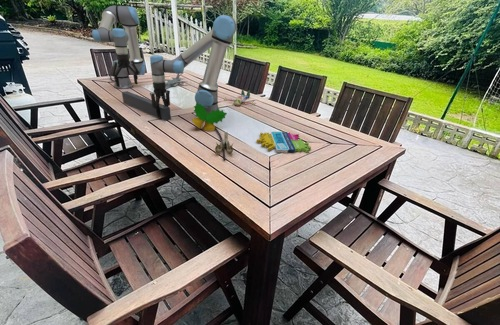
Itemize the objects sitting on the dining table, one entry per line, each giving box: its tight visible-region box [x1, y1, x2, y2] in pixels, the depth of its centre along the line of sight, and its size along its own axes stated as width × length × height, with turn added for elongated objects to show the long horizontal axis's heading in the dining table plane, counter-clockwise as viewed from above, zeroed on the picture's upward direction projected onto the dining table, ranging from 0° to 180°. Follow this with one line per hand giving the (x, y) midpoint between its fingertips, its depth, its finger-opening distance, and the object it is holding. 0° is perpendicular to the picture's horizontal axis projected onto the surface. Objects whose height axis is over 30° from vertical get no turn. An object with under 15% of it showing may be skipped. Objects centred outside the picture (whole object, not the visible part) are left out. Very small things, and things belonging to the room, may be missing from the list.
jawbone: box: [214, 131, 234, 156], centre depth 136 cm, size 9×15×10 cm
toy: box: [223, 89, 257, 106], centre depth 219 cm, size 28×7×30 cm
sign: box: [256, 131, 312, 154], centre depth 152 cm, size 26×2×30 cm
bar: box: [121, 91, 172, 122], centre depth 184 cm, size 52×4×8 cm, turn 51°
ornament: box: [191, 101, 228, 132], centre depth 162 cm, size 21×8×15 cm, turn 105°
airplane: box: [165, 74, 187, 90], centre depth 251 cm, size 38×31×10 cm
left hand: (127, 85), depth 190 cm, fingers open, 13 cm apart
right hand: (162, 117), depth 176 cm, fingers closed on bar, 4 cm apart
